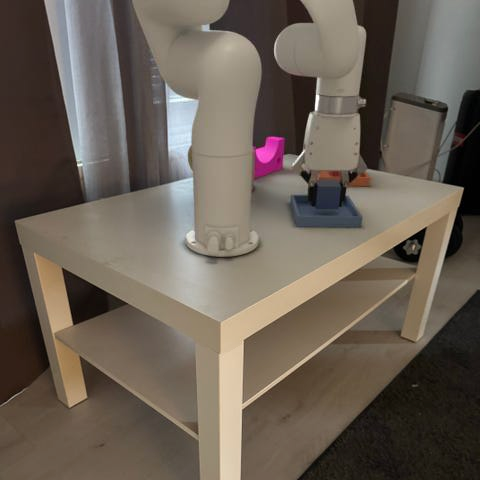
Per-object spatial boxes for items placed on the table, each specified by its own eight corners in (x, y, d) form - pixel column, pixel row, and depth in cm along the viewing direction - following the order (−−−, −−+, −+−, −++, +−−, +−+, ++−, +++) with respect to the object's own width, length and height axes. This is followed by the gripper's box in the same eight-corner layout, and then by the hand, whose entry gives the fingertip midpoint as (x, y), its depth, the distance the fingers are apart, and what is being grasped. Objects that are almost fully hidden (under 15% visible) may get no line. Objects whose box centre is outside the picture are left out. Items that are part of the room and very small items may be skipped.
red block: (350, 178, 118) (352, 159, 116) (331, 178, 118) (333, 159, 116) (346, 173, 122) (348, 155, 119) (328, 173, 122) (330, 155, 119)
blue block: (338, 209, 94) (341, 186, 92) (315, 209, 94) (317, 186, 92) (334, 201, 98) (337, 179, 96) (312, 201, 98) (314, 179, 96)
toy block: (263, 164, 130) (264, 135, 126) (282, 168, 127) (284, 138, 123) (229, 175, 120) (229, 144, 116) (249, 180, 117) (250, 148, 113)
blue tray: (360, 227, 91) (362, 217, 90) (296, 226, 91) (297, 216, 90) (347, 204, 103) (348, 195, 102) (290, 203, 102) (290, 194, 101)
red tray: (369, 186, 115) (370, 177, 113) (318, 185, 114) (319, 177, 113) (357, 171, 126) (358, 163, 125) (310, 170, 126) (311, 162, 124)
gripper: (377, 102, 90) (363, 199, 99) (286, 101, 89) (281, 198, 99) (388, 109, 83) (372, 211, 93) (290, 108, 83) (284, 210, 93)
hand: (325, 203), depth 96 cm, fingers closed on blue block, 4 cm apart
